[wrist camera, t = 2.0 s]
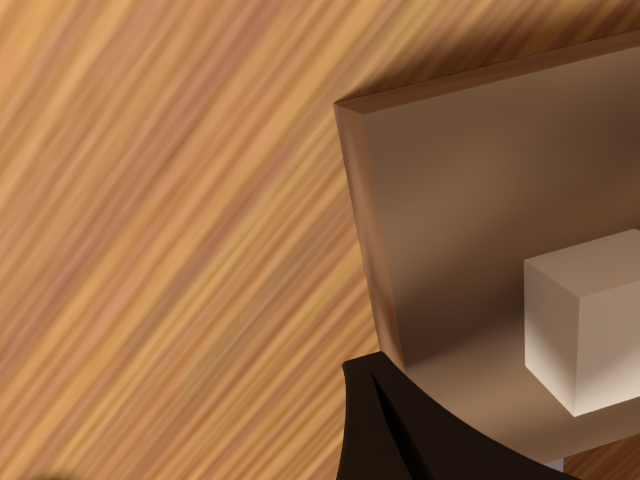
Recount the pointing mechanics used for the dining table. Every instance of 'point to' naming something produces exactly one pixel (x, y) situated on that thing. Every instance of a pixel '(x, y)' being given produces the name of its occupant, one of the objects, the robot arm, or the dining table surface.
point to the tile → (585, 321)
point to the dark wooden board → (493, 223)
